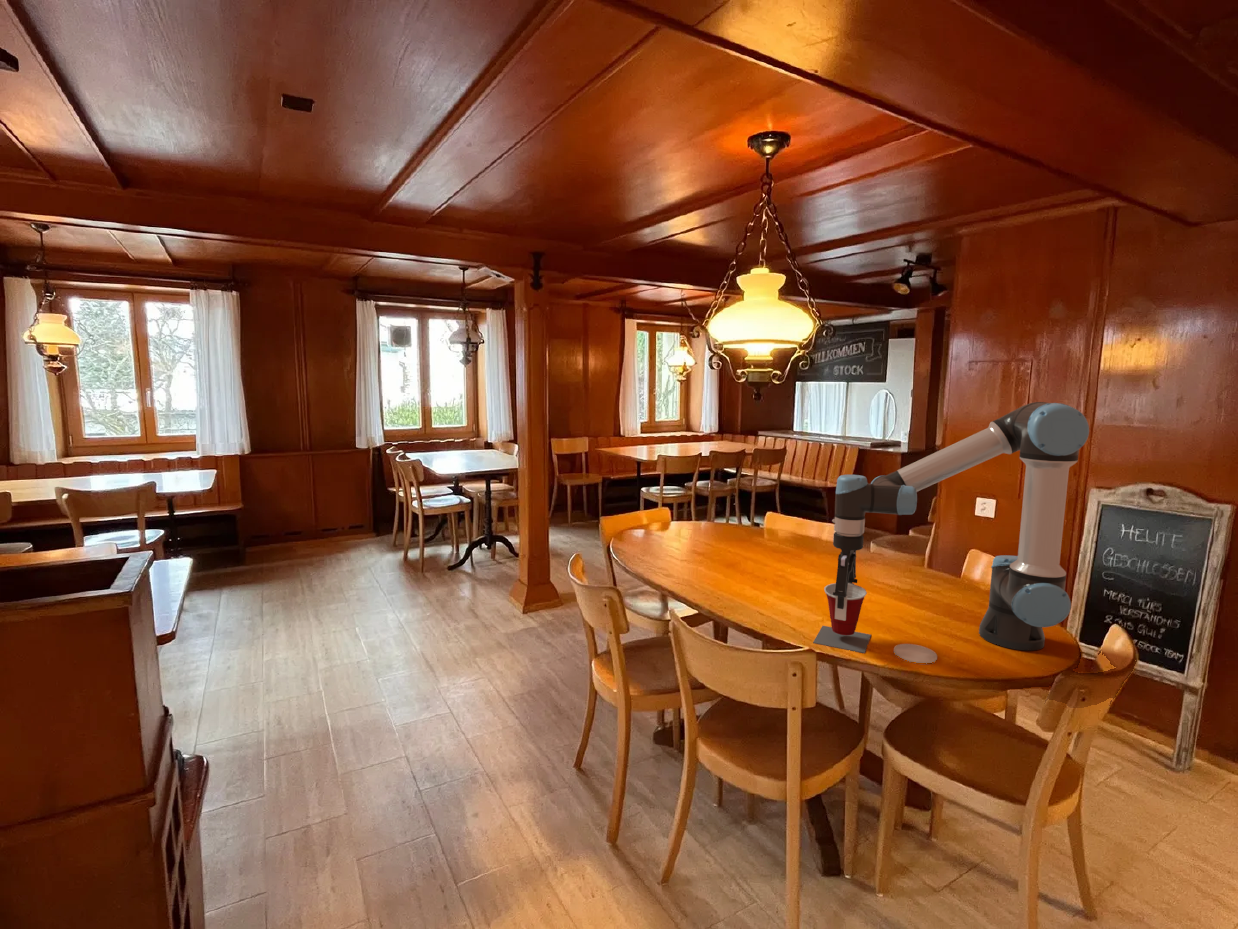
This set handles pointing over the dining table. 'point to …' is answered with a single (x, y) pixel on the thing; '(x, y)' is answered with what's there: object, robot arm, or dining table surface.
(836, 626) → the plastic cup
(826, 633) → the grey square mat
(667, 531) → the dining table surface
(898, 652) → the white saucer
